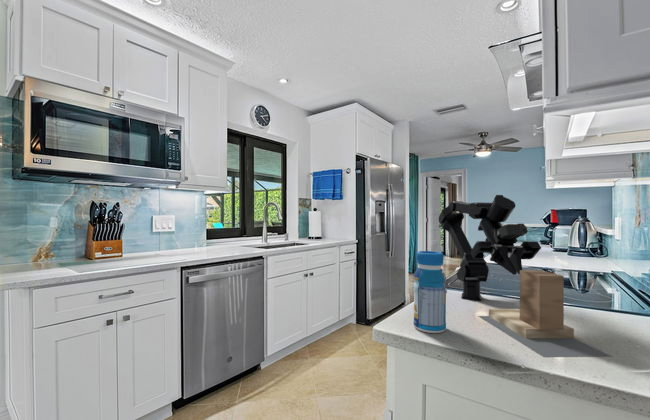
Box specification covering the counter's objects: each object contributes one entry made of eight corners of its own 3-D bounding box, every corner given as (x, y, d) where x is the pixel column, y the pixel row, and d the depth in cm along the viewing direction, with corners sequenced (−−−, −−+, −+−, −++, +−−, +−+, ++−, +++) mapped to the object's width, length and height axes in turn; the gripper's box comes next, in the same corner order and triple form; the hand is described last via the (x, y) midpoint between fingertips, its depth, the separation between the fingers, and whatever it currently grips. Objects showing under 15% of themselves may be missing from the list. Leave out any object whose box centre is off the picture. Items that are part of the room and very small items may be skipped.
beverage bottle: (429, 336, 75) (430, 255, 75) (406, 325, 82) (406, 251, 82) (453, 331, 78) (454, 253, 79) (429, 320, 86) (429, 249, 86)
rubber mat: (477, 317, 89) (477, 316, 89) (527, 316, 90) (527, 315, 90) (543, 358, 64) (543, 356, 64) (612, 357, 64) (612, 356, 64)
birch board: (488, 316, 89) (488, 308, 89) (528, 316, 89) (528, 308, 89) (525, 338, 73) (525, 329, 73) (573, 337, 74) (573, 328, 74)
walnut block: (519, 319, 80) (519, 270, 80) (541, 319, 80) (541, 270, 80) (539, 329, 73) (539, 275, 73) (563, 329, 73) (563, 275, 73)
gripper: (475, 214, 90) (498, 256, 79) (536, 214, 91) (567, 256, 80) (462, 238, 98) (481, 280, 87) (518, 238, 99) (544, 280, 88)
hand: (518, 274), depth 85 cm, fingers closed
